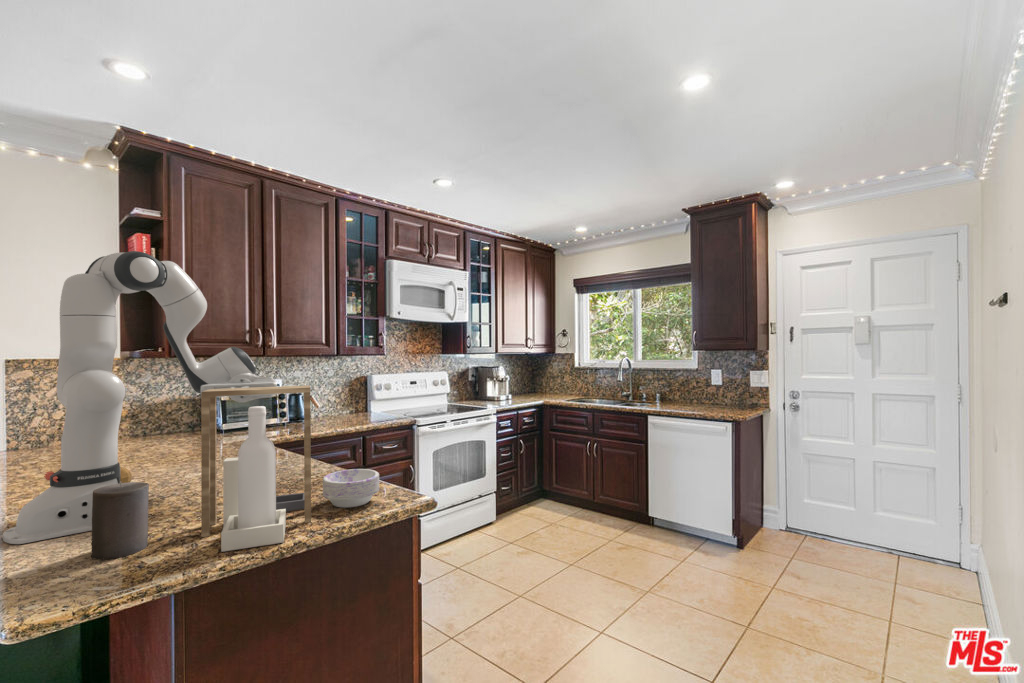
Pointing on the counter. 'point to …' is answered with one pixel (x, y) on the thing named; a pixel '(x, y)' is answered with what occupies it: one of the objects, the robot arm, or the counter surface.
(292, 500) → the tray
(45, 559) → the counter surface
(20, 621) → the counter surface
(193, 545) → the counter surface
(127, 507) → the pillar candle
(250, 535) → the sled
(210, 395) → the oak shelf bridge
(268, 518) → the bottle
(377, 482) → the paper bowls
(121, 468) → the potato
